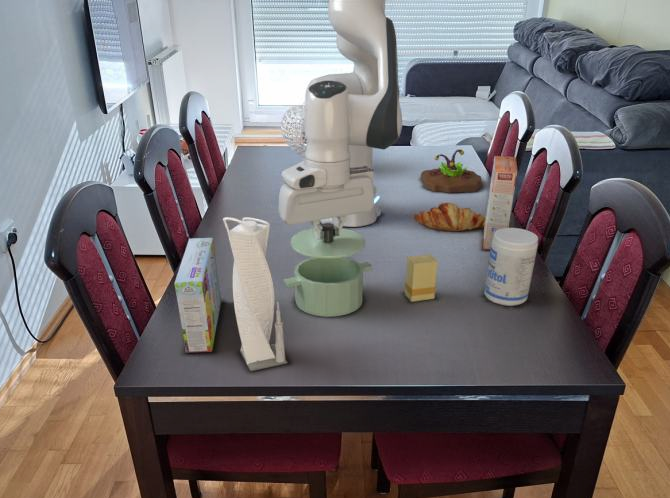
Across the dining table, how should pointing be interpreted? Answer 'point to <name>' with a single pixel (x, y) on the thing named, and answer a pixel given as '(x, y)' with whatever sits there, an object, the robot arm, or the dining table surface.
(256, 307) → the skyscraper
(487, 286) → the supplement tub
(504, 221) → the cracker box
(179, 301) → the snack box
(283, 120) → the heart
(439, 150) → the dining table surface
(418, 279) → the butter
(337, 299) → the pot
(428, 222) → the croissant
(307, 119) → the robot arm
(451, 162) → the plant
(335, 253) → the pot lid
